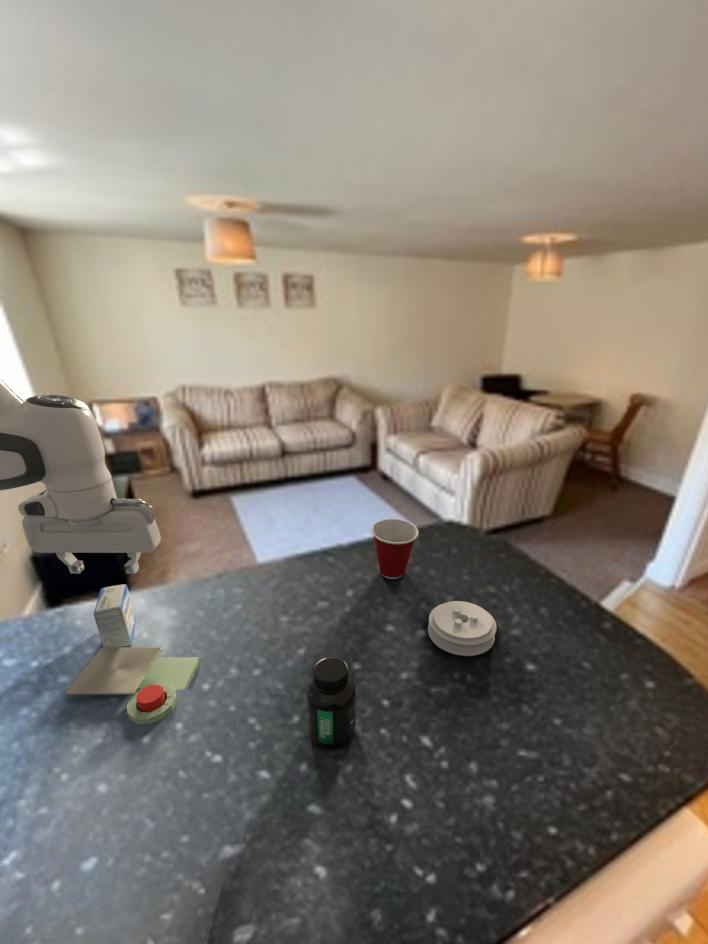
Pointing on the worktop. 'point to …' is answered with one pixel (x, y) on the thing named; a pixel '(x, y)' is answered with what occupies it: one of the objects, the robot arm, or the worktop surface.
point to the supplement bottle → (331, 704)
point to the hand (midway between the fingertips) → (105, 571)
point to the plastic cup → (393, 545)
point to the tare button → (150, 698)
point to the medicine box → (115, 616)
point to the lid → (462, 628)
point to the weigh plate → (115, 671)
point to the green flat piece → (164, 686)
